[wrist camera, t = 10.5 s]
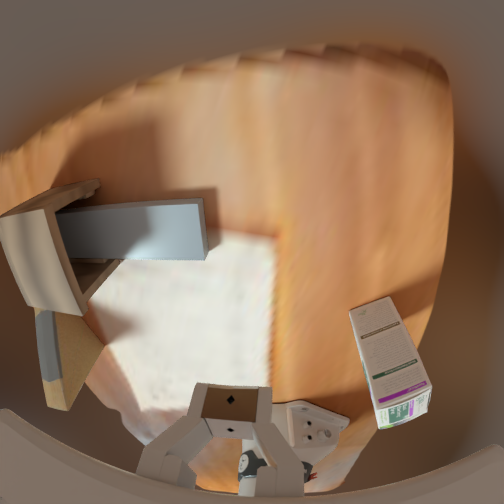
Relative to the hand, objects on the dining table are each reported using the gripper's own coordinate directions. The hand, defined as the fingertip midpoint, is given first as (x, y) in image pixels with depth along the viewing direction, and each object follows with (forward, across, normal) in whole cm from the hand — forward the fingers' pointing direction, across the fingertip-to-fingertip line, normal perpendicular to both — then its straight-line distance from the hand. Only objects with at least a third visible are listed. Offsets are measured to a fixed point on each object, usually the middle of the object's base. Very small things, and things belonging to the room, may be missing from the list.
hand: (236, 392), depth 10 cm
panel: (+20, +16, 0) cm, 25 cm away
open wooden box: (+19, +22, 0) cm, 29 cm away
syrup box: (+20, -14, +14) cm, 27 cm away
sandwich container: (+20, +35, +16) cm, 43 cm away
